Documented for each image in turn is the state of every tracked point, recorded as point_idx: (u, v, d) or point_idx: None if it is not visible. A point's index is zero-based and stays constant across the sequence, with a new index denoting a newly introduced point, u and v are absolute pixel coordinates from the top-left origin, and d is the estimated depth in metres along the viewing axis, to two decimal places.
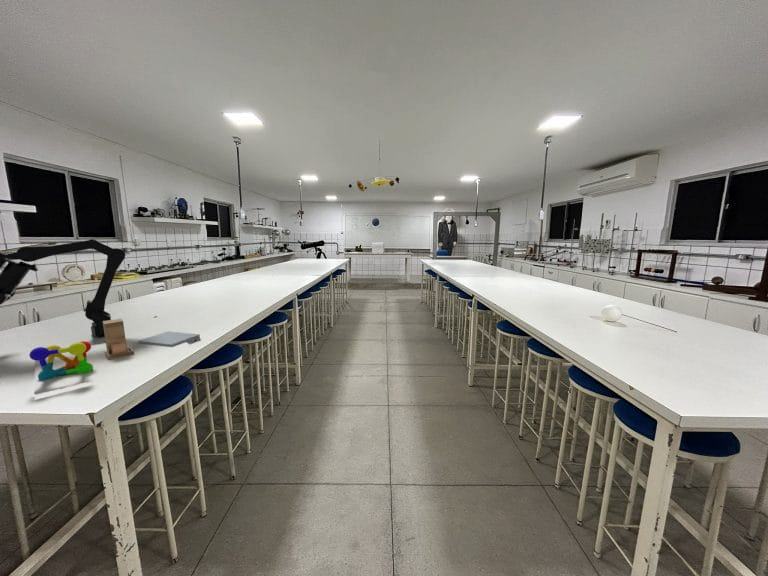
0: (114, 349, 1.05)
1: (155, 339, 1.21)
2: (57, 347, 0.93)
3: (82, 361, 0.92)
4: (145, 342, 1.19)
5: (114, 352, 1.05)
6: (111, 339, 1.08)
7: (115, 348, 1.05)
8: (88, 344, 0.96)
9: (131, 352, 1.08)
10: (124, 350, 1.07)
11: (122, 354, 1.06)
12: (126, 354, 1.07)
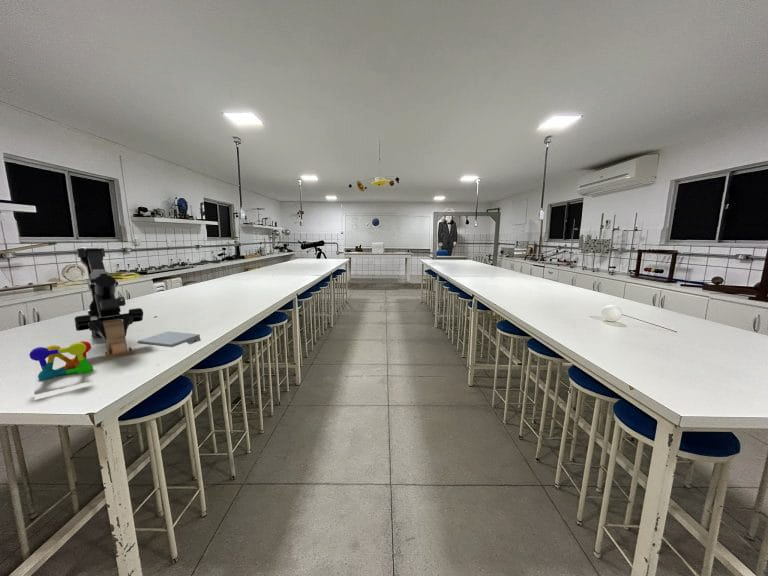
0: (114, 349, 1.05)
1: (155, 339, 1.21)
2: (57, 347, 0.93)
3: (82, 361, 0.92)
4: (145, 342, 1.19)
5: (114, 352, 1.05)
6: (111, 339, 1.08)
7: (115, 348, 1.05)
8: (88, 344, 0.96)
9: (131, 352, 1.08)
10: (124, 350, 1.07)
11: (122, 354, 1.06)
12: (126, 354, 1.07)
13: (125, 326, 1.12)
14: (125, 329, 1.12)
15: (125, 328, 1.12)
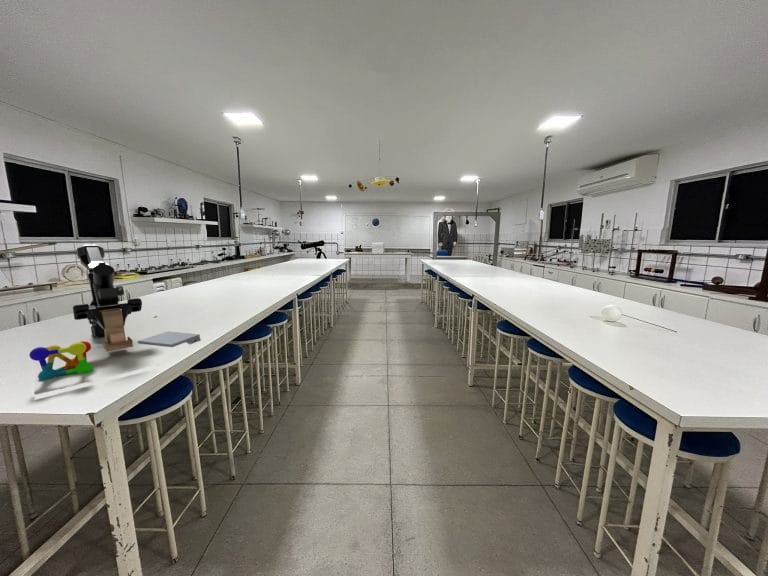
0: (112, 338, 1.05)
1: (155, 339, 1.21)
2: (57, 347, 0.93)
3: (82, 361, 0.92)
4: (145, 342, 1.19)
5: (112, 341, 1.05)
6: (109, 328, 1.07)
7: (113, 337, 1.05)
8: (88, 344, 0.96)
9: (130, 341, 1.07)
10: (123, 339, 1.07)
11: (120, 343, 1.05)
12: (125, 343, 1.06)
13: (124, 316, 1.12)
14: (124, 319, 1.11)
15: (124, 318, 1.12)
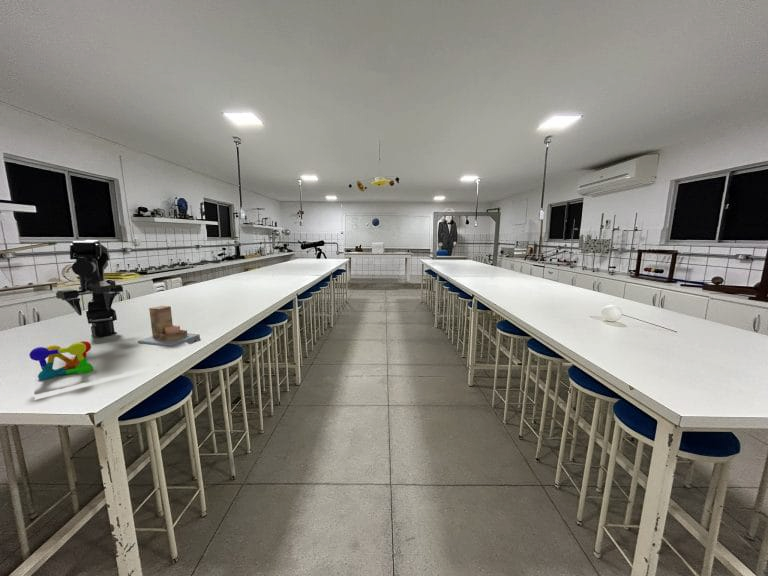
0: (173, 330, 1.21)
1: (155, 339, 1.21)
2: (57, 347, 0.93)
3: (82, 361, 0.92)
4: (145, 342, 1.19)
5: (173, 332, 1.21)
6: (163, 322, 1.22)
7: (173, 329, 1.21)
8: (88, 344, 0.96)
9: (185, 331, 1.25)
10: (179, 330, 1.24)
11: (180, 333, 1.23)
12: (182, 333, 1.24)
13: (111, 302, 1.24)
14: (110, 305, 1.24)
15: (110, 304, 1.24)
